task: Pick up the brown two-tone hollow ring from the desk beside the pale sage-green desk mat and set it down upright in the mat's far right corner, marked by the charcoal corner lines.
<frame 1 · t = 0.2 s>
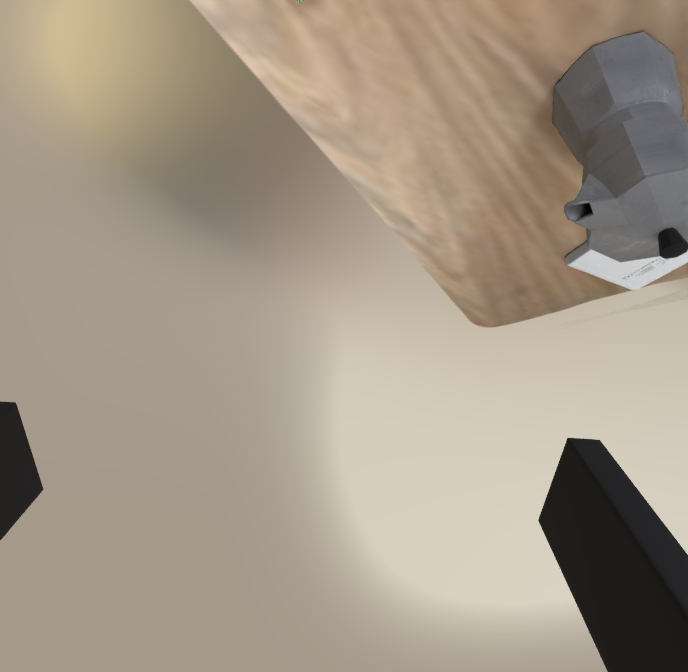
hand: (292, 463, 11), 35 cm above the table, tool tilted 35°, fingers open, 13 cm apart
coffeepot: (619, 88, 38), on the table
hard drive: (626, 251, 56), on the table
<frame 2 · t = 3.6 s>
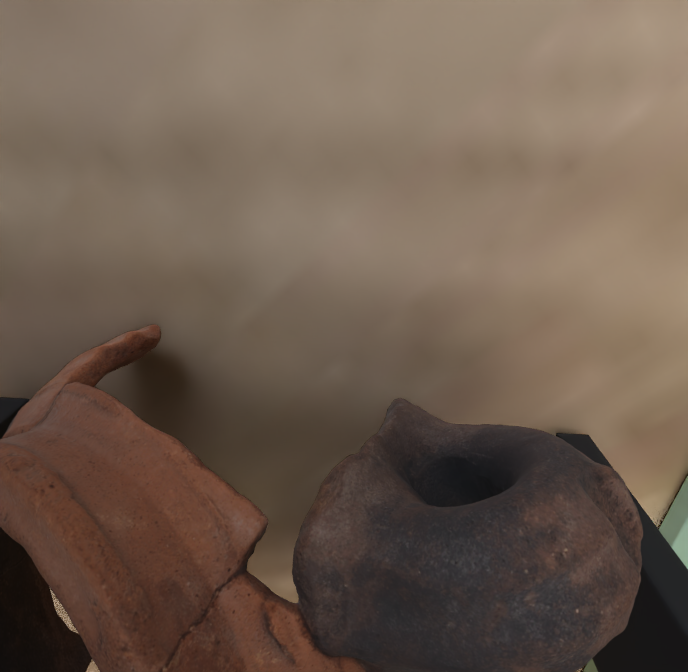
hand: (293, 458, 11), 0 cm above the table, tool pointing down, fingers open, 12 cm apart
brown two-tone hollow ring: (294, 446, 11), on the table, touching gripper
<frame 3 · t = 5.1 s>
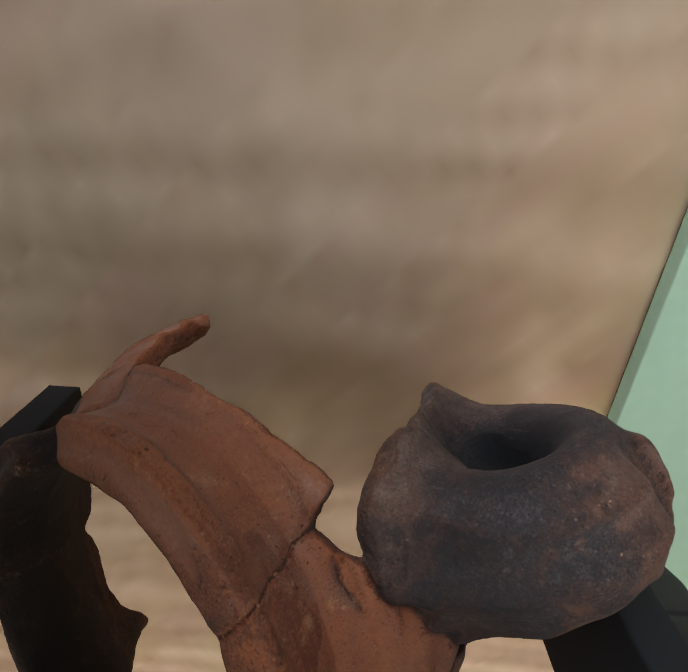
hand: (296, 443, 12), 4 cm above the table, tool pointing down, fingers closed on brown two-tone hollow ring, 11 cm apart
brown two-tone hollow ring: (328, 432, 12), point 3 cm above the table, touching gripper
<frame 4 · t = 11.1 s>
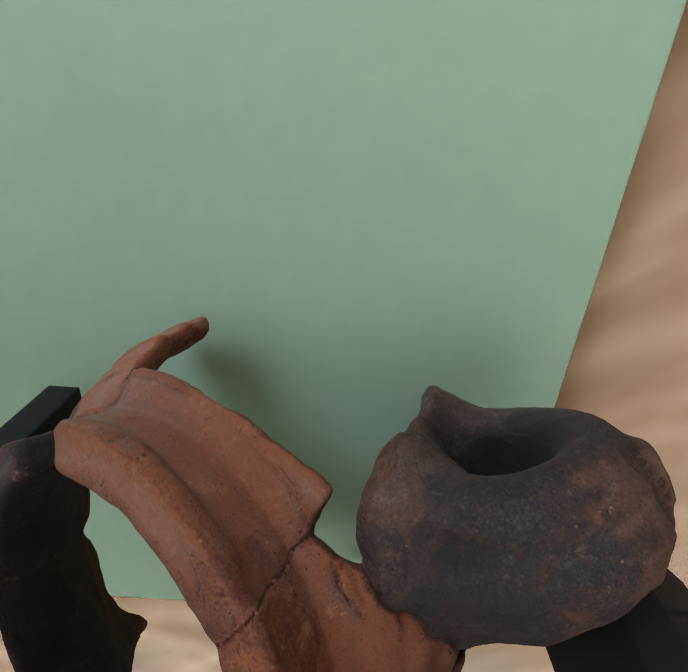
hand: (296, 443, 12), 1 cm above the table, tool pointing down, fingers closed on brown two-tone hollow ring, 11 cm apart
desk mat: (168, 298, 11), on the table
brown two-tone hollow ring: (327, 435, 12), point 1 cm above the table, touching gripper
when the fingers open (1 cm above the table, at t = 17.2 s): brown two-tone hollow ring stays where it is, resting on desk mat.
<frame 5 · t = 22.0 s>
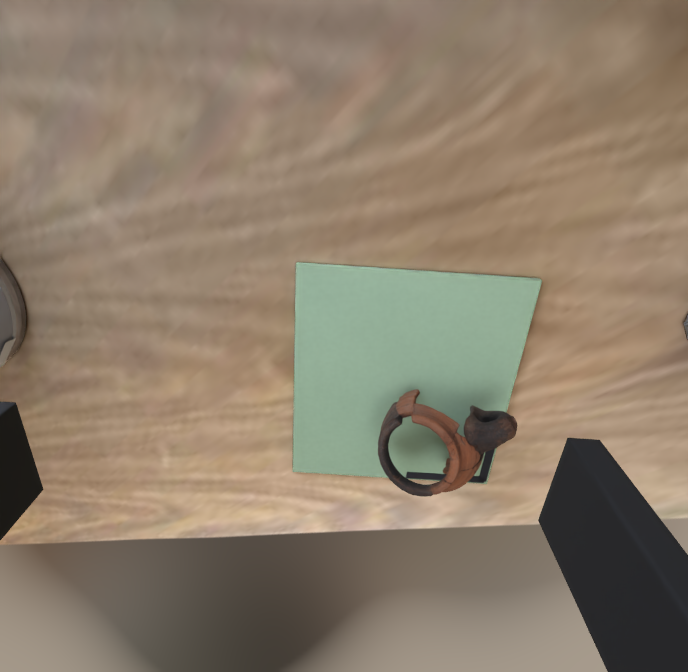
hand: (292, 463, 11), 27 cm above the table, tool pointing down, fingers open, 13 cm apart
desk mat: (402, 383, 41), on the table
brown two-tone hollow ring: (441, 418, 42), resting on desk mat
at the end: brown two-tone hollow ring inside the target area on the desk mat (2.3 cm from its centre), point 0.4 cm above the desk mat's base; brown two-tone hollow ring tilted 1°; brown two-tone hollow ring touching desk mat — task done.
